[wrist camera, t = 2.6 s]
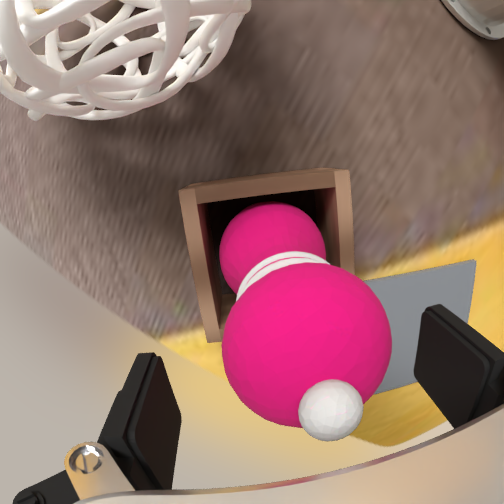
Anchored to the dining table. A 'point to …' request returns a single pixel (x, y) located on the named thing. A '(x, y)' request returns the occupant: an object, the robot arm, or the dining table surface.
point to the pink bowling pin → (299, 325)
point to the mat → (419, 310)
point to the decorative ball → (111, 53)
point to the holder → (199, 194)
